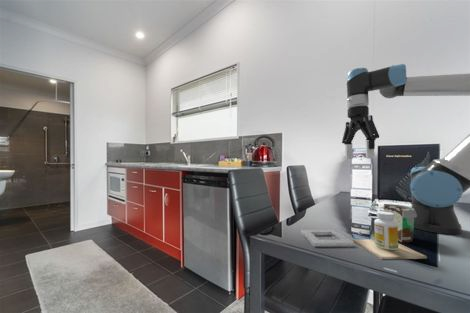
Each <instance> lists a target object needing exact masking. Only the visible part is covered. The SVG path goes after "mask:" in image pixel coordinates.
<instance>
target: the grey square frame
mask: <svg viewBox="0 0 470 313" xmlns="http://www.w3.org/2000/svg"><path fill="white" fill-rule="evenodd" d="M299 234H300V235H302V236H303V237H304V239H306V240H307V241H308V242H309V244H311V245H312V246H313V247H314V248H327V247H328V248H341V247H342V248H343V247H344V248H346V247H347V248H349V247H355V246H356V245H355V244H356V243H355V242H353V240H351V239H350V238H348V237H347V236H345V235H344V234H342V233H340V232H338V231H337V230H336V229H300V231H299ZM318 236H326V237H327V236H331V237H332V238H334V239H319V237H318Z"/></svg>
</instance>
